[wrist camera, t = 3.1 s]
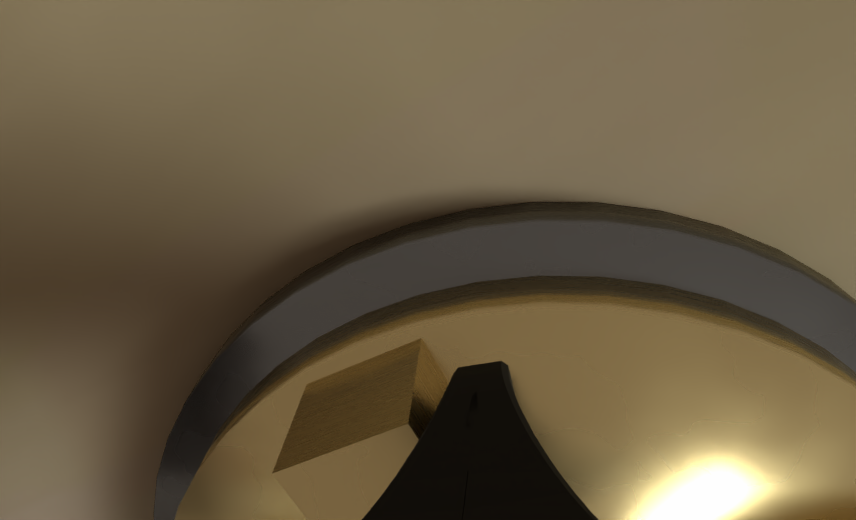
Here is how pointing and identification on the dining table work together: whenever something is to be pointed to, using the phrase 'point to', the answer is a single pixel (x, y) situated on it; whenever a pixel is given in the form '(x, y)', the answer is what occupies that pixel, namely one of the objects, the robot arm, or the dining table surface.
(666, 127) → the dining table surface
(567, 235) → the grey plate
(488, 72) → the dining table surface
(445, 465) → the robot arm
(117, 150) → the dining table surface
